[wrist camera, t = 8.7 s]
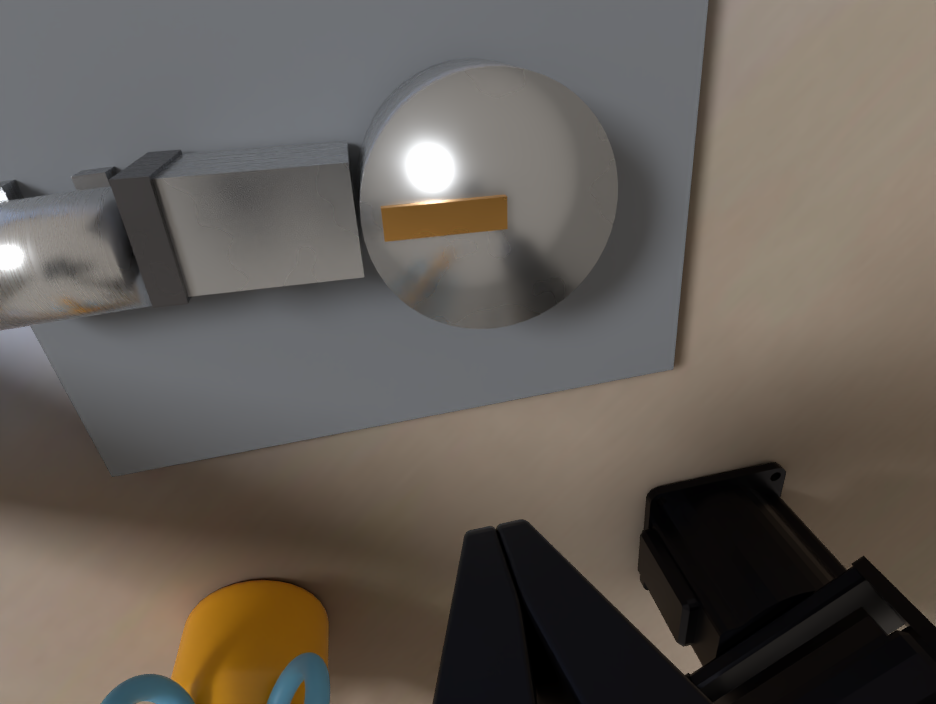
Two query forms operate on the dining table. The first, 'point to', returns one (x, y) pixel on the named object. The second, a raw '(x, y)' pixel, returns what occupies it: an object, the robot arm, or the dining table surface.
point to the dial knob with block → (394, 202)
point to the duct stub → (65, 254)
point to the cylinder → (244, 651)
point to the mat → (346, 119)
